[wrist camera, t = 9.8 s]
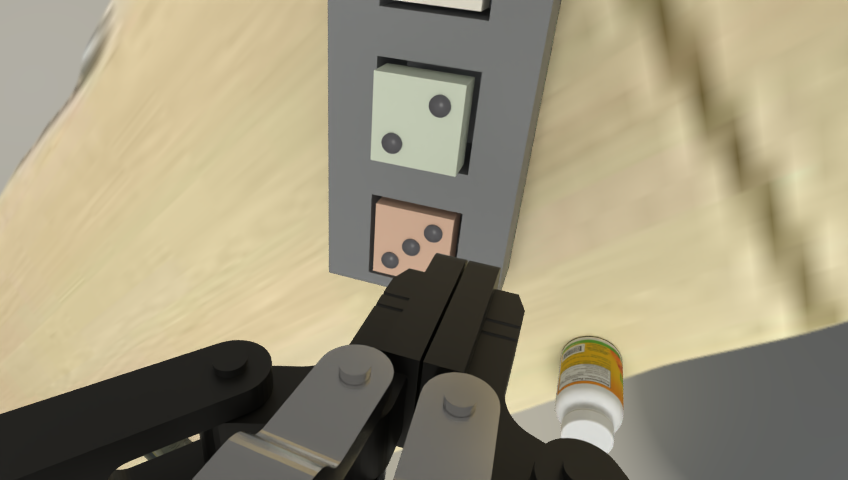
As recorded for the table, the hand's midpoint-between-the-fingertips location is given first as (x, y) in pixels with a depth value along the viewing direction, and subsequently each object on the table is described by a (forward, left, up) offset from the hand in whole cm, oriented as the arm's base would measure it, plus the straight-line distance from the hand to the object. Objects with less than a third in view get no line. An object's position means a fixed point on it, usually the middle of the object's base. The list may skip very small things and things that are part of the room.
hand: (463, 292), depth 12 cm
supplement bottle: (-8, +26, -31) cm, 41 cm away
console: (+8, +4, -31) cm, 32 cm away
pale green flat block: (+8, +4, -26) cm, 27 cm away
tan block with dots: (+8, +14, -27) cm, 32 cm away
